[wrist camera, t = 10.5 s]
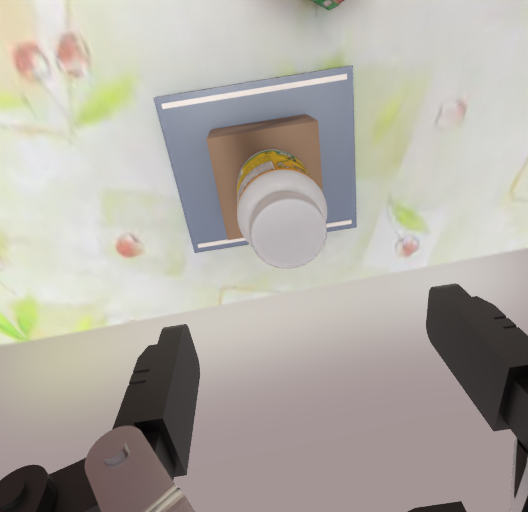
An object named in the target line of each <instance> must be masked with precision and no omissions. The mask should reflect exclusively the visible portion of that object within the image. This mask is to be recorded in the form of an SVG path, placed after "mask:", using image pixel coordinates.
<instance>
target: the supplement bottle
mask: <svg viewBox="0 0 528 512" xmlns="http://www.w3.org/2000/svg"><path fill="white" fill-rule="evenodd" d="M237 220H238V225H239V228H240V231H241V233H242V235H243V237H244V238H245V240H246V241H247V242H248V243H249V244H250V245H251V246H252V247H253V248H254V250H255V252H256V253H257V255H258V256H259V257H260V258H261V259H262V260H263V261H264V262H266V263H268V264H270V265H272V266H275V267H279V268H294V267H299V266H301V265H304V264H306V263H308V262H309V261H311V260H312V259H313V258H314V257H316V256H317V254H318V253H319V252H320V250H321V249H322V247H323V245H324V243H325V240H326V234H327V229H326V220H327V204H326V200H325V197H324V195H323V192H322V190H321V189H320V187H319V186H318V185H317V183H316V182H315V181H314V179H313V178H312V177H311V175H310V174H309V172H308V171H307V170H306V168H305V167H304V165H303V164H302V163H301V162H300V161H299V160H298V159H297V158H296V157H295V156H293V155H292V154H290V153H288V152H285V151H281V150H276V149H268V150H263V151H260V152H258V153H256V154H254V155H253V156H251V157H250V158H249V159H248V160H247V161H246V162H245V163H244V165H243V166H242V168H241V170H240V172H239V175H238V179H237Z"/></svg>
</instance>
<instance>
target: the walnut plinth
mask: <svg viewBox="0 0 528 512" xmlns="http://www.w3.org/2000/svg"><path fill="white" fill-rule="evenodd" d="M206 140H207V145H208V149H209V154H210V159H211V164H212V168H213V173H214V178H215V182H216V187H217V192H218V196H219V201H220V206H221V211H222V215H223V220H224V225H225V229H226V234H227V239H228V240H233V239H239V238H244V237H243V235H242V233H241V231H240V228H239V225H238V220H237V179H238V175H239V172H240V170H241V168H242V166H243V165H244V163H245V162H246V161H247V160H248V159H249V158H250V157H251V156H253V155H254V154H256V153H258V152H260V151H263V150H268V149H276V150H281V151H285V152H288V153H290V154H292V155H293V156H295V157H296V158H297V159H298V160H299V161H300V162H301V163H302V164H303V165H304V167H305V168H306V170H307V171H308V172H309V174H310V175H311V177H312V178H313V179H314V181H315V182H316V183H317V185H318V186H319V187H320V189H321V190H322V192H323V185H322V171H321V156H320V142H319V127H318V121H317V120H316V119H314V118H312V117H311V116H309V115H307V114H303V115H296V116H290V117H284V118H278V119H272V120H266V121H259V122H253V123H247V124H241V125H235V126H228V127H222V128H216V129H211V131H210V133H209V135H208V137H207V138H206Z"/></svg>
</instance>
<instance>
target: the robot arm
mask: <svg viewBox="0 0 528 512" xmlns="http://www.w3.org/2000/svg"><path fill="white" fill-rule="evenodd" d="M426 329H427V334H428V337H429V339H430V342H431V343H432V345H433V346H434V348H435V349H436V350H437V352H438V353H439V355H440V356H441V358H442V359H443V360H444V362H445V363H446V365H447V366H448V367H449V369H450V370H451V372H452V373H453V375H454V376H455V377H456V379H457V380H458V382H459V383H460V384H461V386H462V387H463V389H464V390H465V392H466V393H467V394H468V396H469V397H470V399H471V400H472V401H473V403H474V404H475V406H476V407H477V409H478V410H479V411H480V413H481V414H482V416H483V417H484V418H485V420H486V421H487V422H488V424H489V425H490V427H491V428H492V430H493V431H498V430H505V429H511V430H512V432H513V433H514V434H515V436H516V439H515V442H514V454H513V468H512V483H511V498H510V509H509V512H528V336H527V335H526V334H525V333H524V332H523V331H522V330H521V329H520V328H517V327H516V325H515V324H514V323H513V322H512V321H511V320H510V319H509V318H506V316H505V315H504V314H503V313H502V312H501V311H500V310H499V309H498V308H497V307H496V306H494V305H493V304H491V303H489V302H487V301H485V300H483V299H481V298H479V297H477V296H475V297H471V296H470V295H469V294H468V293H467V292H466V291H465V290H464V289H463V288H462V287H461V286H459V285H458V284H449V285H442V286H436V287H431V289H430V291H429V298H428V309H427V320H426ZM199 379H200V367H199V361H198V357H197V353H196V350H195V347H194V344H193V340H192V338H191V334H190V331H189V328H188V326H187V325H186V324H184V325H178V326H171V327H164V328H163V329H162V331H161V334H160V337H159V341H158V344H156V345H150V346H148V347H147V348H146V349H145V351H144V352H143V353H142V354H141V355H140V356H139V358H138V360H137V362H136V365H135V368H134V371H133V374H132V376H131V379H130V382H129V386H128V388H127V390H126V393H125V396H124V398H123V401H122V404H121V407H120V410H119V413H118V416H117V418H116V421H115V424H114V426H113V429H112V430H111V431H109V432H107V433H106V434H104V435H103V436H102V437H100V438H99V439H98V440H97V441H96V442H95V444H94V445H93V446H92V447H91V449H90V450H89V452H88V454H87V457H86V458H84V459H82V460H80V461H78V462H76V463H74V464H72V465H70V466H67V467H65V468H63V469H60V470H58V471H56V472H54V473H52V474H48V473H47V472H46V470H45V469H44V468H43V467H41V466H39V465H28V466H25V467H22V468H19V469H17V470H15V471H13V472H11V473H10V474H8V475H7V476H5V477H4V478H3V479H2V480H0V512H195V511H194V509H193V507H192V506H191V504H190V503H189V501H188V500H187V498H186V497H185V495H184V494H183V492H182V491H181V489H180V488H177V487H176V485H175V484H174V482H173V479H174V477H177V476H184V475H187V468H188V460H189V453H190V446H191V438H192V431H193V423H194V416H195V409H196V401H197V394H198V386H199ZM408 512H466V510H465V508H464V506H463V504H462V502H461V501H460V502H453V503H447V504H439V505H432V506H426V507H419V508H414V509H412V510H410V511H408Z"/></svg>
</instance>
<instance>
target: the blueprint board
mask: <svg viewBox="0 0 528 512" xmlns="http://www.w3.org/2000/svg"><path fill="white" fill-rule="evenodd" d="M154 101H155V105H156V109H157V113H158V116H159V120H160V124H161V128H162V131H163V135H164V139H165V143H166V147H167V150H168V154H169V158H170V162H171V165H172V169H173V173H174V177H175V180H176V184H177V188H178V192H179V195H180V199H181V203H182V207H183V211H184V214H185V218H186V222H187V226H188V229H189V233H190V237H191V241H192V244H193V248H194V252H195V253H197V252H203V251H210V250H216V249H222V248H229V247H235V246H241V245H248V244H249V243H248V242H247V241H246V240H245V238H239V239H233V240H228V239H227V234H226V229H225V225H224V220H223V215H222V211H221V206H220V201H219V196H218V192H217V187H216V182H215V178H214V173H213V168H212V164H211V159H210V154H209V149H208V145H207V140H206V138H207V137H208V135H209V133H210V131H211V129H216V128H222V127H228V126H235V125H241V124H247V123H253V122H259V121H266V120H272V119H278V118H284V117H290V116H296V115H303V114H307V115H309V116H311V117H312V118H314V119H316V120H317V121H318V127H319V142H320V156H321V171H322V185H323V195H324V197H325V200H326V204H327V220H326V229H327V232H330V231H336V230H342V229H349V228H355V227H357V225H356V183H355V141H354V99H353V66H345V67H339V68H333V69H327V70H321V71H315V72H309V73H302V74H296V75H290V76H284V77H278V78H272V79H266V80H260V81H253V82H247V83H241V84H235V85H229V86H223V87H217V88H210V89H204V90H198V91H192V92H186V93H180V94H174V95H167V96H161V97H156V98H154Z"/></svg>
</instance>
